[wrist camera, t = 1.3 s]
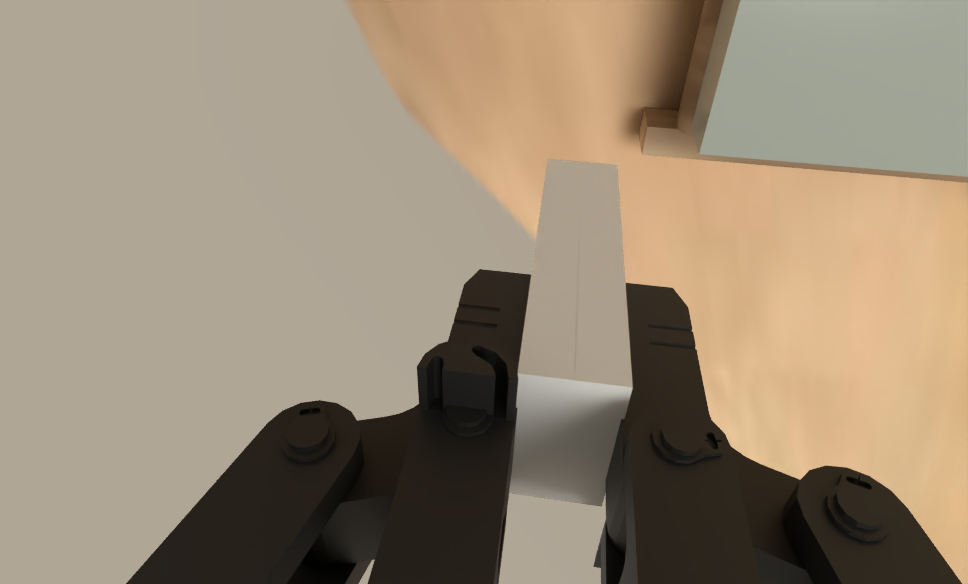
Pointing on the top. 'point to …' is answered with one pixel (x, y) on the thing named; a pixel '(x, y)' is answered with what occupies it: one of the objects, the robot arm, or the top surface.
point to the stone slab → (839, 84)
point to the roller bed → (673, 127)
